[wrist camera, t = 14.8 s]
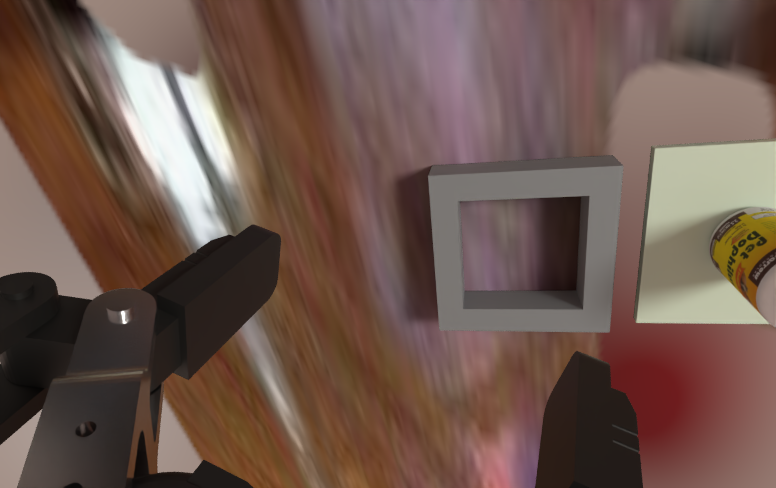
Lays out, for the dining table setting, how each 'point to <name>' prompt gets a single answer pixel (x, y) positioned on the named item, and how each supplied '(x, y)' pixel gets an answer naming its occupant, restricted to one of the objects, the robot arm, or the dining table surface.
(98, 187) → the dining table surface
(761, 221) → the supplement bottle
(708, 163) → the coaster
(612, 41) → the dining table surface
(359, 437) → the dining table surface
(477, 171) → the post collar
